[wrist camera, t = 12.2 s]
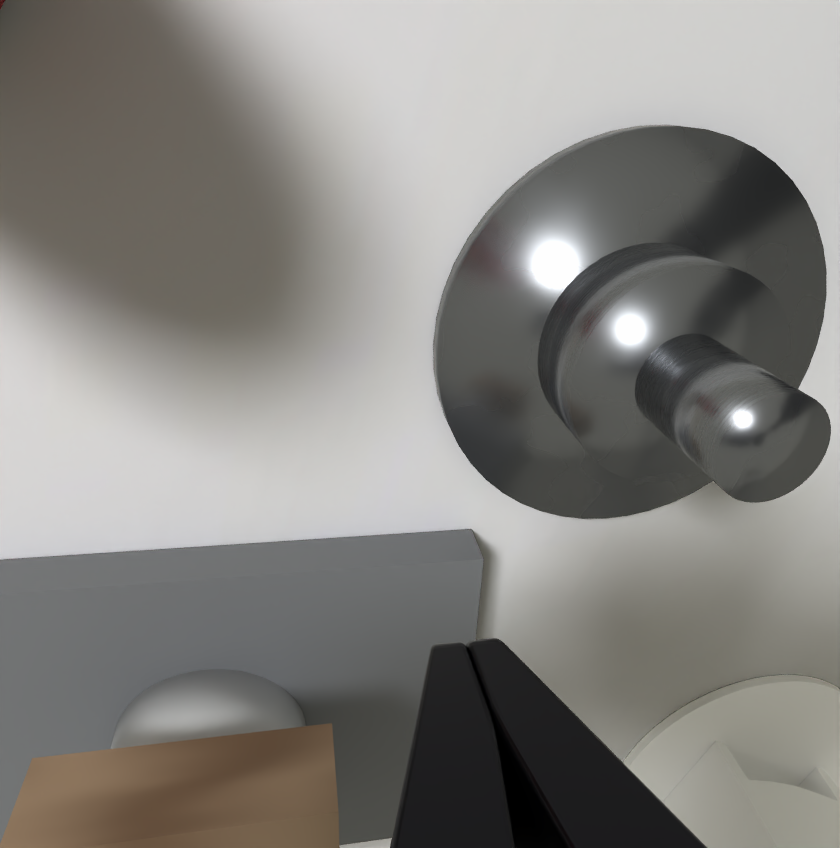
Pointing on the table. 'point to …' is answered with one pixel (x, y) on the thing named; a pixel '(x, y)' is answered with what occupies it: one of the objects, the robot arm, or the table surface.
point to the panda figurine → (751, 764)
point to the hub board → (234, 651)
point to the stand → (637, 327)
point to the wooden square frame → (185, 795)
